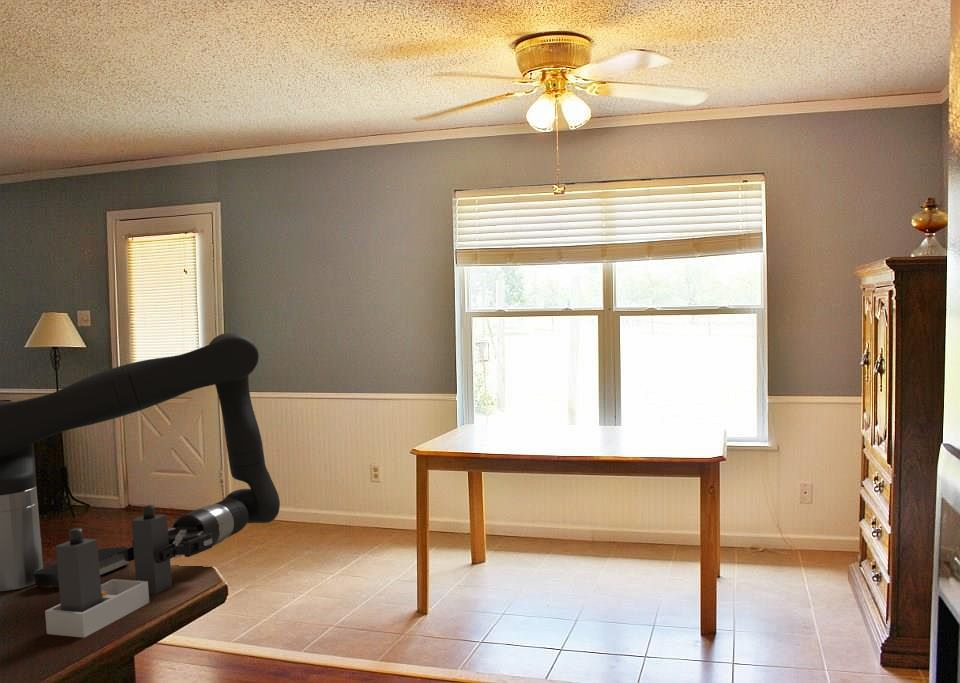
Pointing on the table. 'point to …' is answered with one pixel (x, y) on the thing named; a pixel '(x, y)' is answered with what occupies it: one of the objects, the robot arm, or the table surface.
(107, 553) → the black sponge
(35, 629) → the table surface
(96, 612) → the grey rectangular tray
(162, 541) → the plug
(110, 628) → the table surface
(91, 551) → the twin plug
